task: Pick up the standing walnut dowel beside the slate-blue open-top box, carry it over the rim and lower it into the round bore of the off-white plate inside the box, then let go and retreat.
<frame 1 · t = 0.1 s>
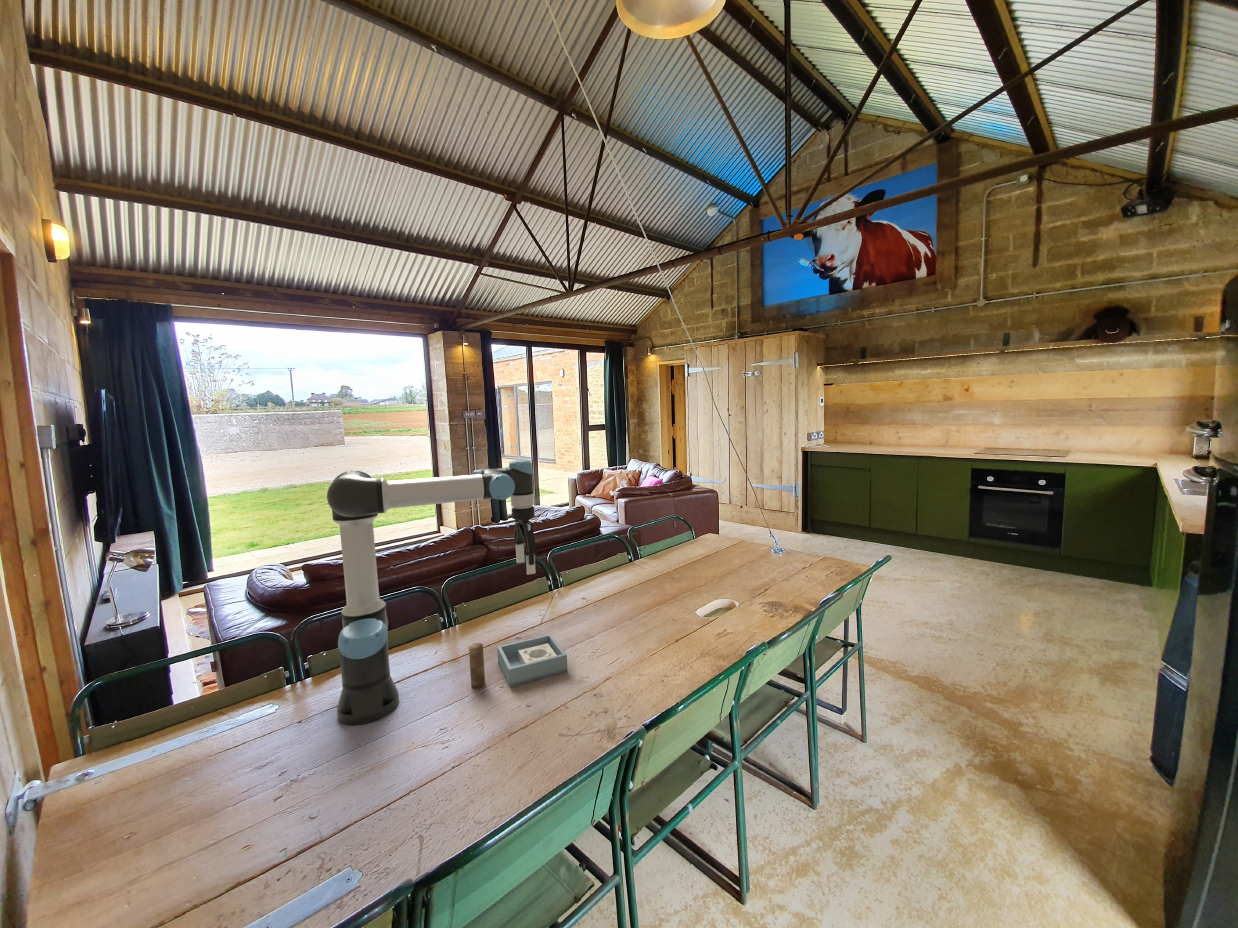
hand: (525, 567, 163), 28 cm above the table, fingers open, 13 cm apart
plate: (538, 665, 153), resting on box
box: (532, 666, 152), on the table
peg: (478, 684, 143), on the table
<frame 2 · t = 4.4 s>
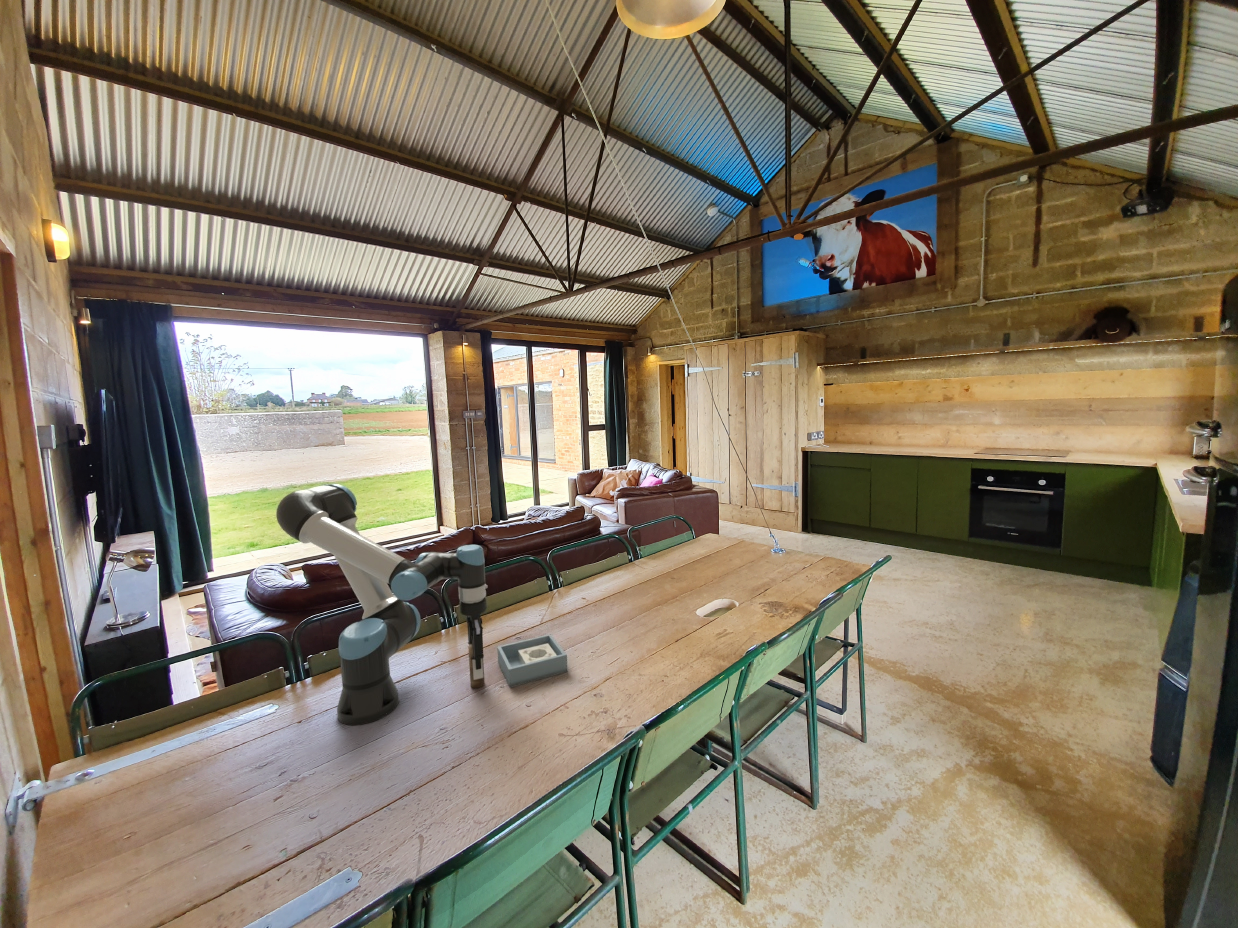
hand: (477, 673, 143), 3 cm above the table, fingers closed on peg, 4 cm apart
peg: (477, 683, 143), on the table, touching gripper
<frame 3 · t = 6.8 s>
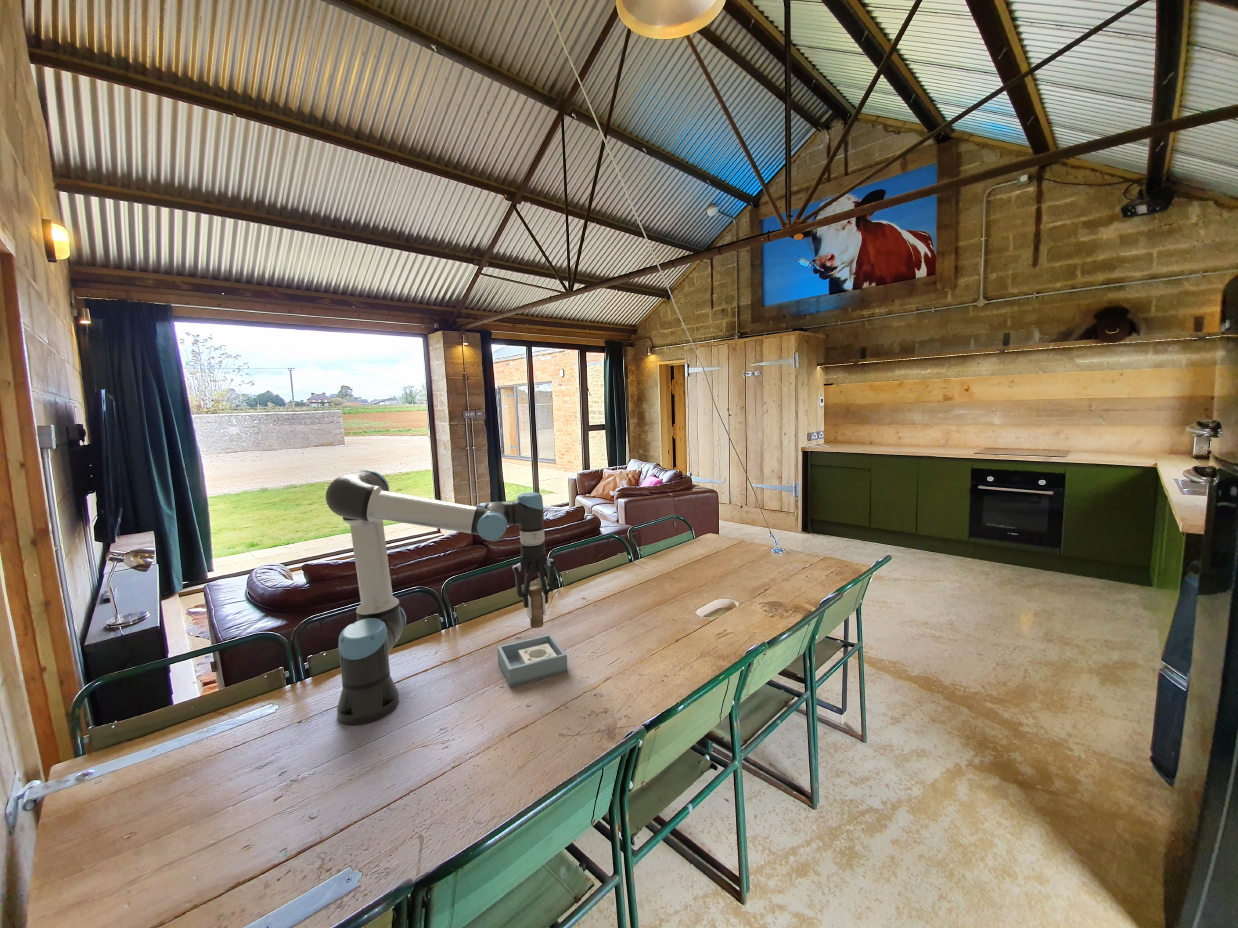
hand: (536, 614, 151), 17 cm above the table, fingers closed on peg, 4 cm apart
peg: (536, 625, 152), point 13 cm above the table, touching gripper
when the fingers open (5 cm above the table, at t = 9.4 s): peg stays where it is, resting on box.
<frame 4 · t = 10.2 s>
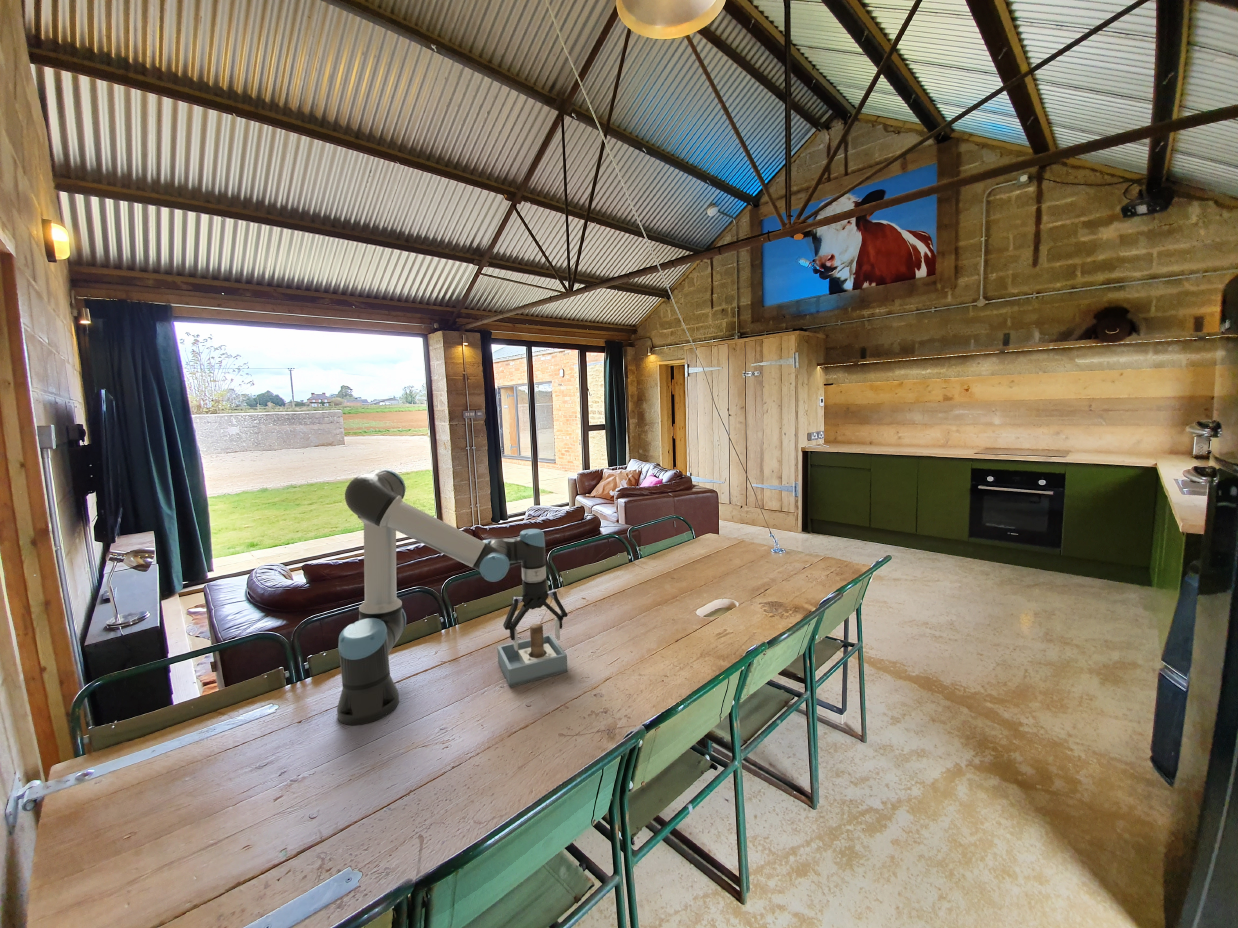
hand: (537, 643, 152), 7 cm above the table, fingers open, 13 cm apart
peg: (537, 662, 153), point 1 cm above the table, touching box
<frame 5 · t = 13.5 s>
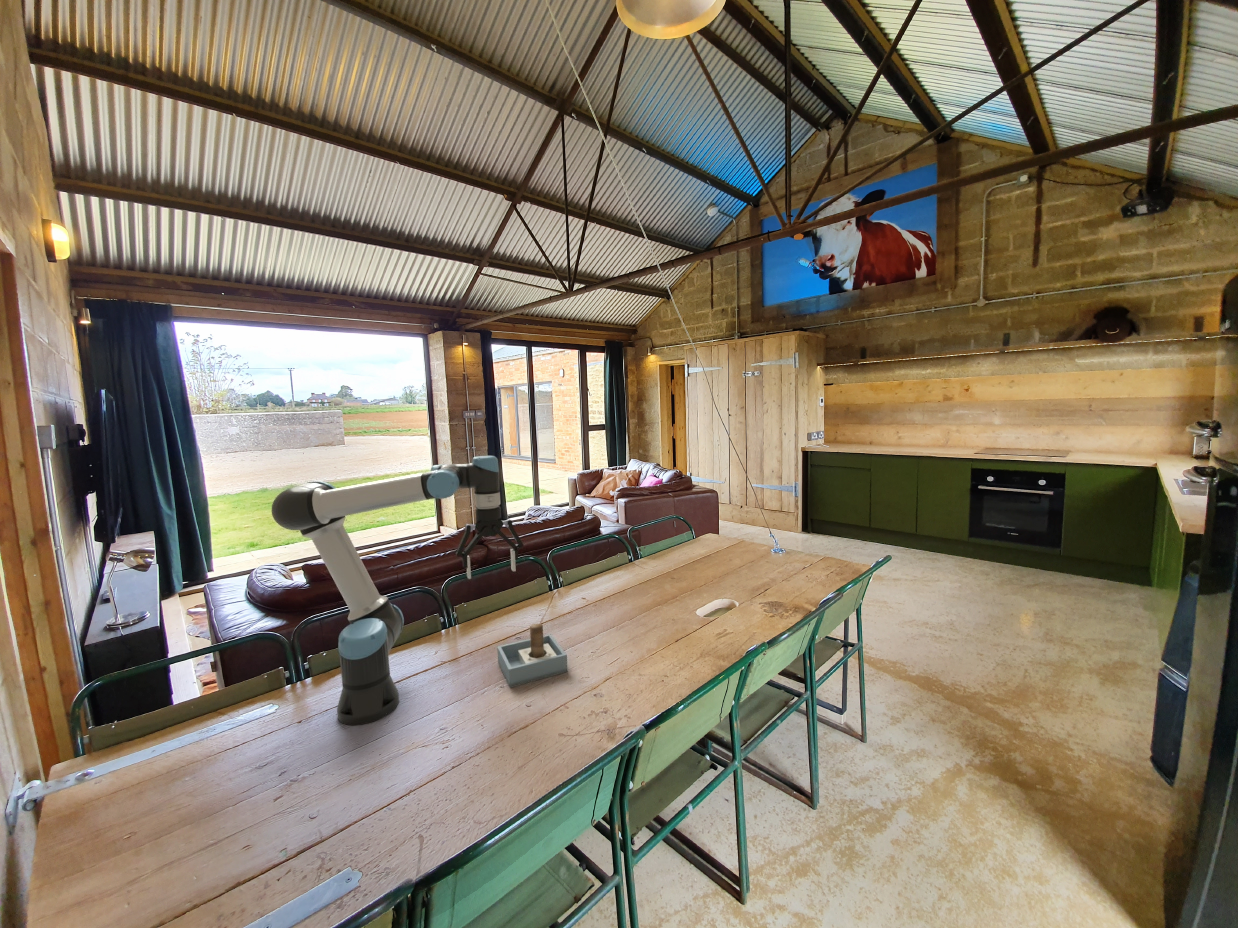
hand: (491, 573, 149), 31 cm above the table, fingers open, 13 cm apart
nothing on the table moved.
at the end: peg 0.0 cm off-centre on the plate, point 1.0 cm above the plate's base; peg tilted 0°; the gripper is holding nothing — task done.
